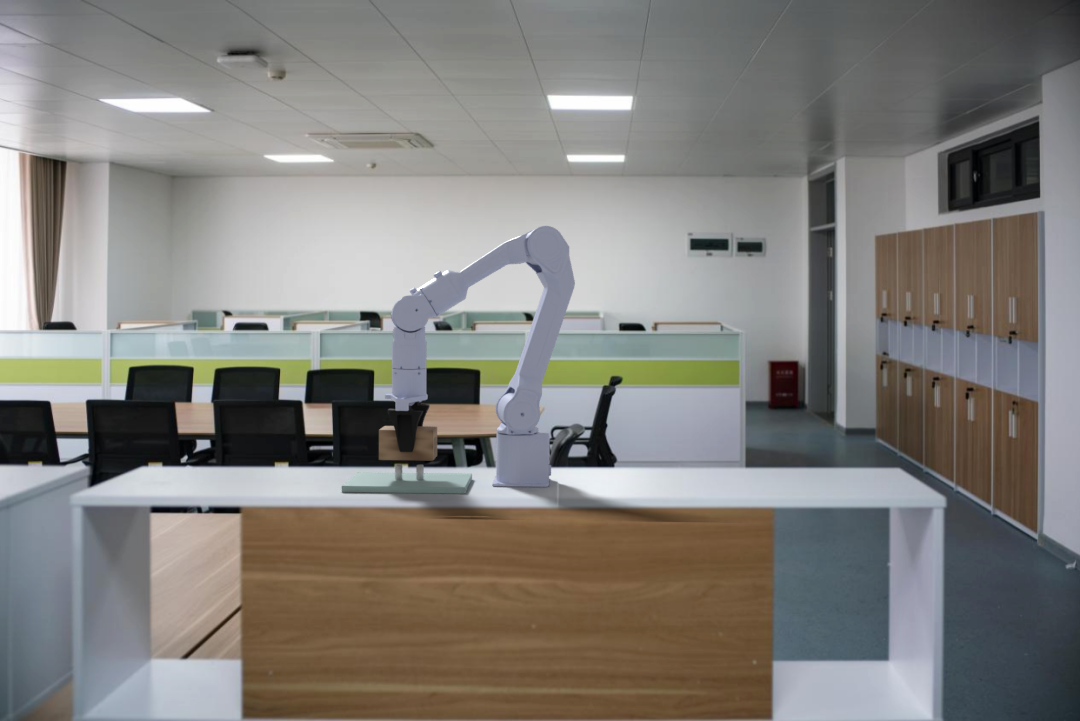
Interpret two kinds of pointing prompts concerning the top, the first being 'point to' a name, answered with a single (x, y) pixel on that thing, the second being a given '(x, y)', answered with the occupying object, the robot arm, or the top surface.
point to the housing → (422, 448)
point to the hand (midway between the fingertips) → (409, 449)
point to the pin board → (408, 482)
